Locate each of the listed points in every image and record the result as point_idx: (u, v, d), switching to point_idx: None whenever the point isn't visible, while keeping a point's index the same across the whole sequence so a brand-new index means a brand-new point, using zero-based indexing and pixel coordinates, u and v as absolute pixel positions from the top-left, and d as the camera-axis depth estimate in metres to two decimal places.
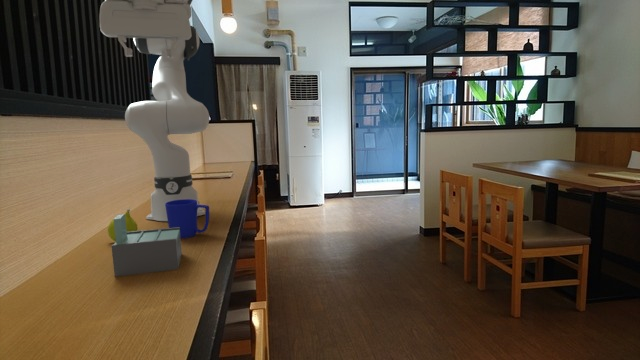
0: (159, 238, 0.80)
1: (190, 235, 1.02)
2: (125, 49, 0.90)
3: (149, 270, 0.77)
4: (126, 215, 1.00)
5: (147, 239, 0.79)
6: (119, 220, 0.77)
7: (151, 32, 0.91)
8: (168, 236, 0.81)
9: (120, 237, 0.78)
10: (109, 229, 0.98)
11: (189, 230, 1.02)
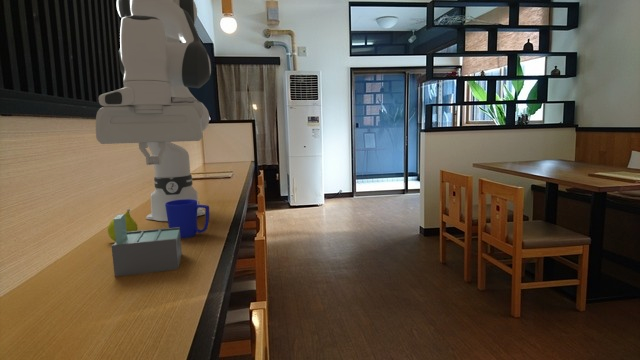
0: (159, 238, 0.80)
1: (190, 235, 1.02)
2: (147, 158, 0.78)
3: (149, 270, 0.77)
4: (126, 215, 1.00)
5: (147, 239, 0.79)
6: (119, 220, 0.77)
7: (156, 138, 0.77)
8: (168, 236, 0.81)
9: (120, 237, 0.78)
10: (109, 229, 0.98)
11: (189, 230, 1.02)
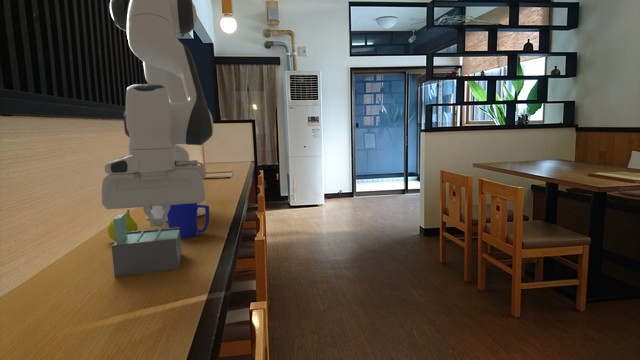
0: (159, 238, 0.80)
1: (190, 235, 1.02)
2: (151, 220, 0.80)
3: (149, 270, 0.77)
4: (126, 215, 1.00)
5: (147, 239, 0.79)
6: (119, 220, 0.77)
7: (160, 202, 0.79)
8: (168, 236, 0.81)
9: (120, 237, 0.78)
10: (109, 229, 0.98)
11: (189, 230, 1.02)
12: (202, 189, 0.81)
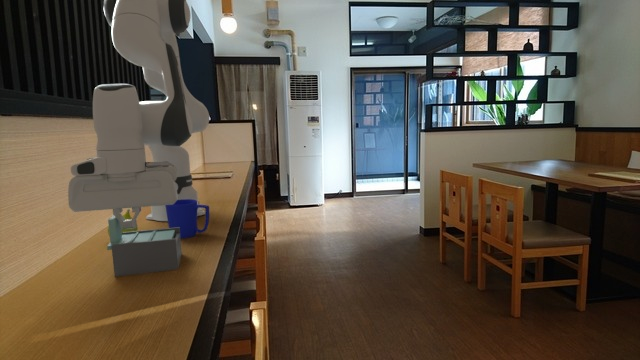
0: (154, 238, 0.80)
1: (190, 235, 1.02)
2: (121, 223, 0.78)
3: (149, 270, 0.77)
4: (126, 215, 1.00)
5: (142, 240, 0.79)
6: (113, 220, 0.77)
7: (130, 204, 0.78)
8: (163, 236, 0.81)
9: (115, 238, 0.77)
10: None
11: (189, 230, 1.02)
12: (173, 191, 0.80)
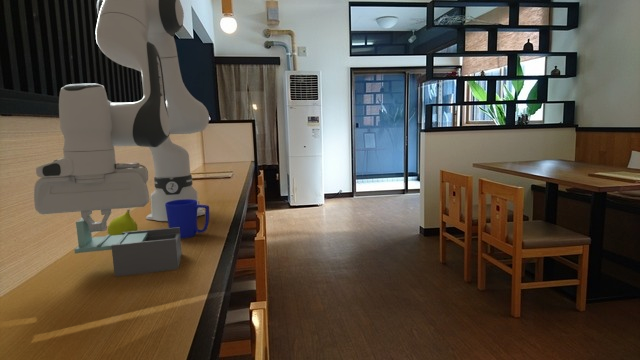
0: (124, 241, 0.78)
1: (190, 235, 1.02)
2: (90, 225, 0.77)
3: (149, 270, 0.77)
4: (126, 215, 1.00)
5: (111, 242, 0.78)
6: (82, 223, 0.75)
7: (98, 206, 0.76)
8: (134, 239, 0.80)
9: (83, 240, 0.76)
10: (109, 229, 0.98)
11: (189, 230, 1.02)
12: (143, 193, 0.78)
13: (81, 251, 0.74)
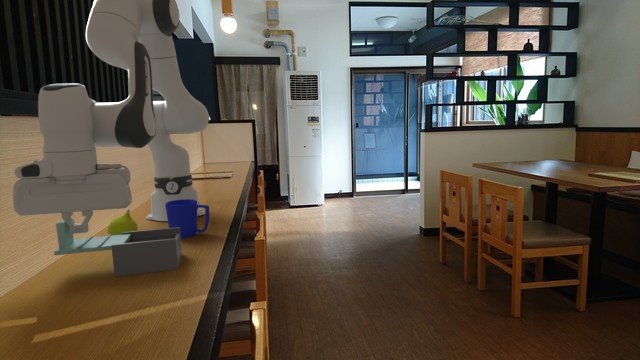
0: (105, 243, 0.77)
1: (190, 235, 1.02)
2: (71, 227, 0.76)
3: (149, 270, 0.77)
4: (126, 215, 1.00)
5: (92, 244, 0.77)
6: (62, 225, 0.74)
7: (79, 208, 0.75)
8: (116, 241, 0.79)
9: (63, 242, 0.75)
10: (109, 229, 0.98)
11: (189, 230, 1.02)
12: (125, 194, 0.77)
13: (61, 253, 0.73)
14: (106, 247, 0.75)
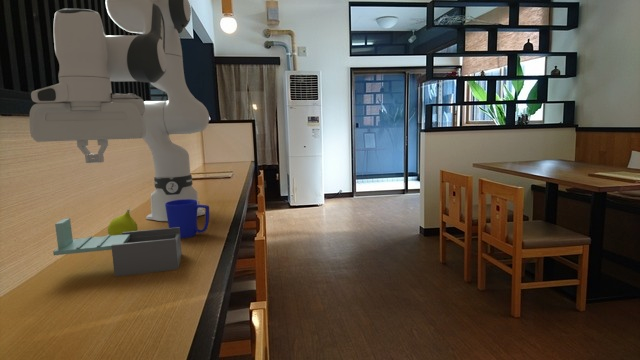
0: (104, 243, 0.77)
1: (190, 235, 1.02)
2: (86, 156, 0.76)
3: (149, 270, 0.77)
4: (126, 215, 1.00)
5: (92, 244, 0.77)
6: (61, 225, 0.74)
7: (95, 136, 0.75)
8: (115, 241, 0.79)
9: (62, 242, 0.75)
10: (109, 229, 0.98)
11: (189, 230, 1.02)
12: (140, 124, 0.77)
13: (60, 253, 0.73)
14: (105, 247, 0.75)
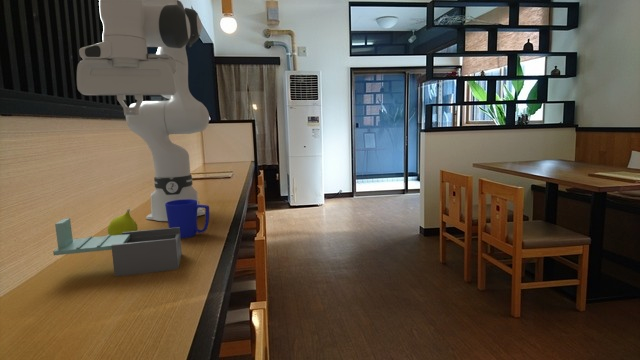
0: (104, 243, 0.77)
1: (190, 235, 1.02)
2: (124, 108, 0.86)
3: (149, 270, 0.77)
4: (126, 215, 1.00)
5: (92, 244, 0.77)
6: (61, 225, 0.74)
7: (132, 90, 0.85)
8: (115, 241, 0.79)
9: (62, 242, 0.75)
10: (109, 229, 0.98)
11: (189, 230, 1.02)
12: (172, 81, 0.87)
13: (60, 253, 0.73)
14: (105, 247, 0.75)
